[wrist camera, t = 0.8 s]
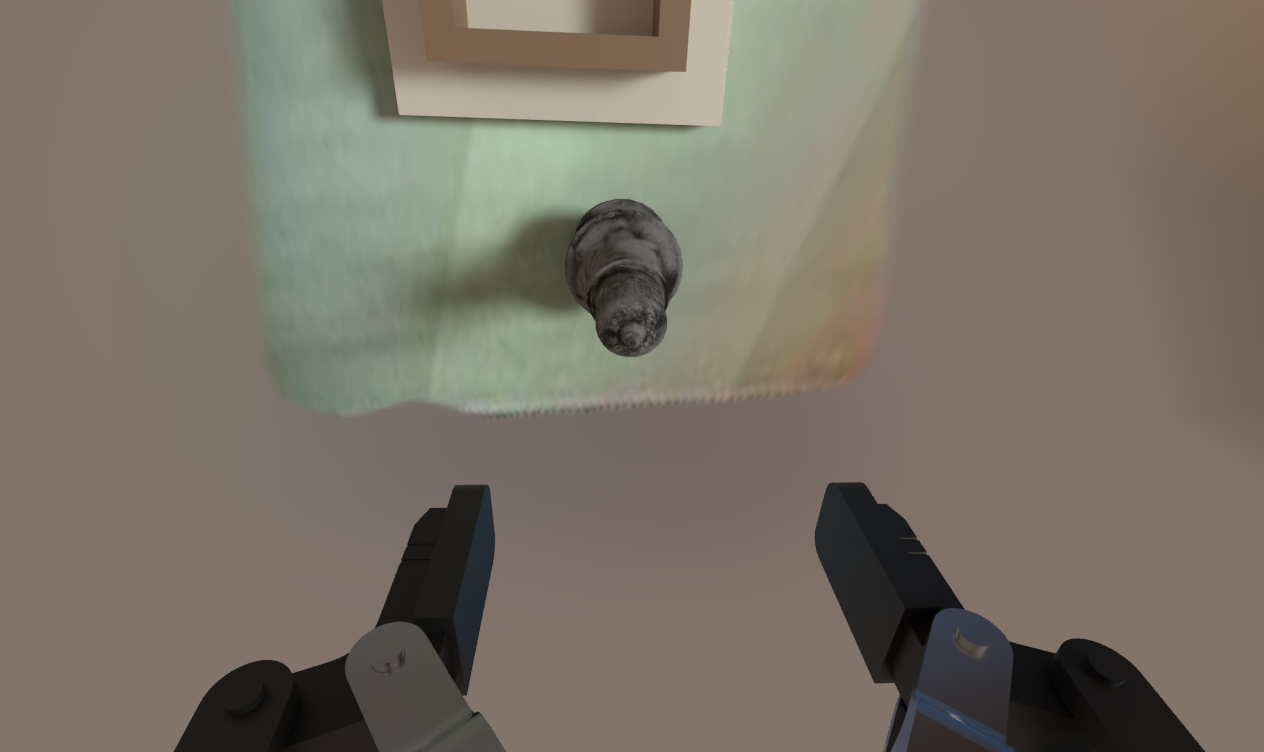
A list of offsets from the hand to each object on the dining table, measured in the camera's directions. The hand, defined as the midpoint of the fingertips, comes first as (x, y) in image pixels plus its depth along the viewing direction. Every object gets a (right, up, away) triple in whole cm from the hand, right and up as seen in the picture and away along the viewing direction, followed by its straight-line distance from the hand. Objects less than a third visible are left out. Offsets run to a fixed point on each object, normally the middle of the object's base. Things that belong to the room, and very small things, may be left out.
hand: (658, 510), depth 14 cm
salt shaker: (-1, +10, +18) cm, 21 cm away
